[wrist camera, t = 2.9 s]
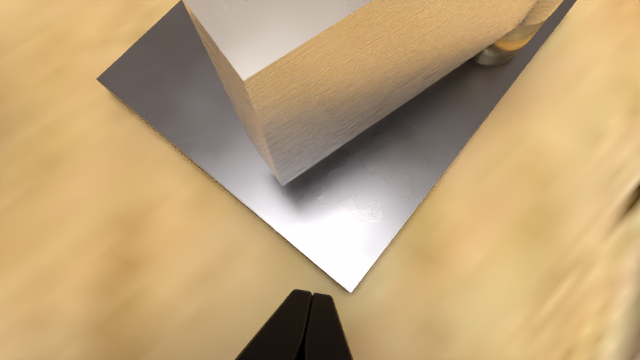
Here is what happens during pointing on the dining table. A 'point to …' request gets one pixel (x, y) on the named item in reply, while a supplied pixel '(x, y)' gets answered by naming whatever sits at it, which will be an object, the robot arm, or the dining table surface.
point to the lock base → (337, 168)
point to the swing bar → (340, 62)
